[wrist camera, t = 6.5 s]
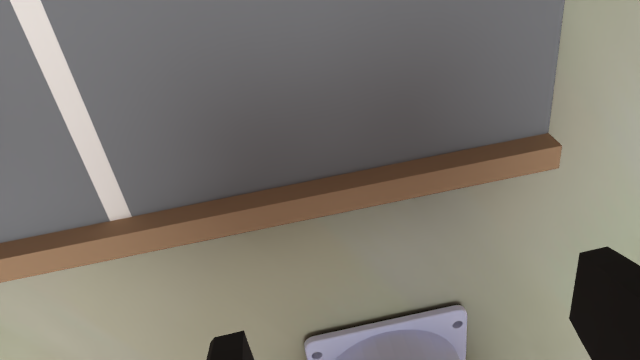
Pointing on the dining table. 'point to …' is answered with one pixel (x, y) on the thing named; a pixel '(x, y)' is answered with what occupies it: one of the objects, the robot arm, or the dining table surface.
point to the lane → (254, 115)
